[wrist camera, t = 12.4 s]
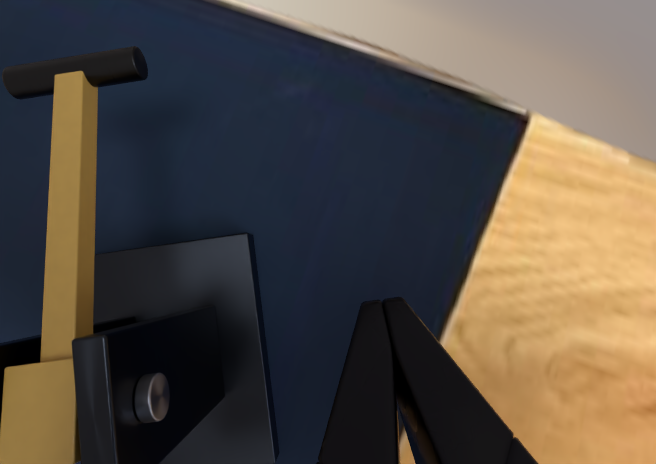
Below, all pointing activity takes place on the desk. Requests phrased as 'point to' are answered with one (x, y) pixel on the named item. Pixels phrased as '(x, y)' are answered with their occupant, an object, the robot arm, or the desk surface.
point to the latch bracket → (171, 358)
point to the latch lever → (62, 253)
